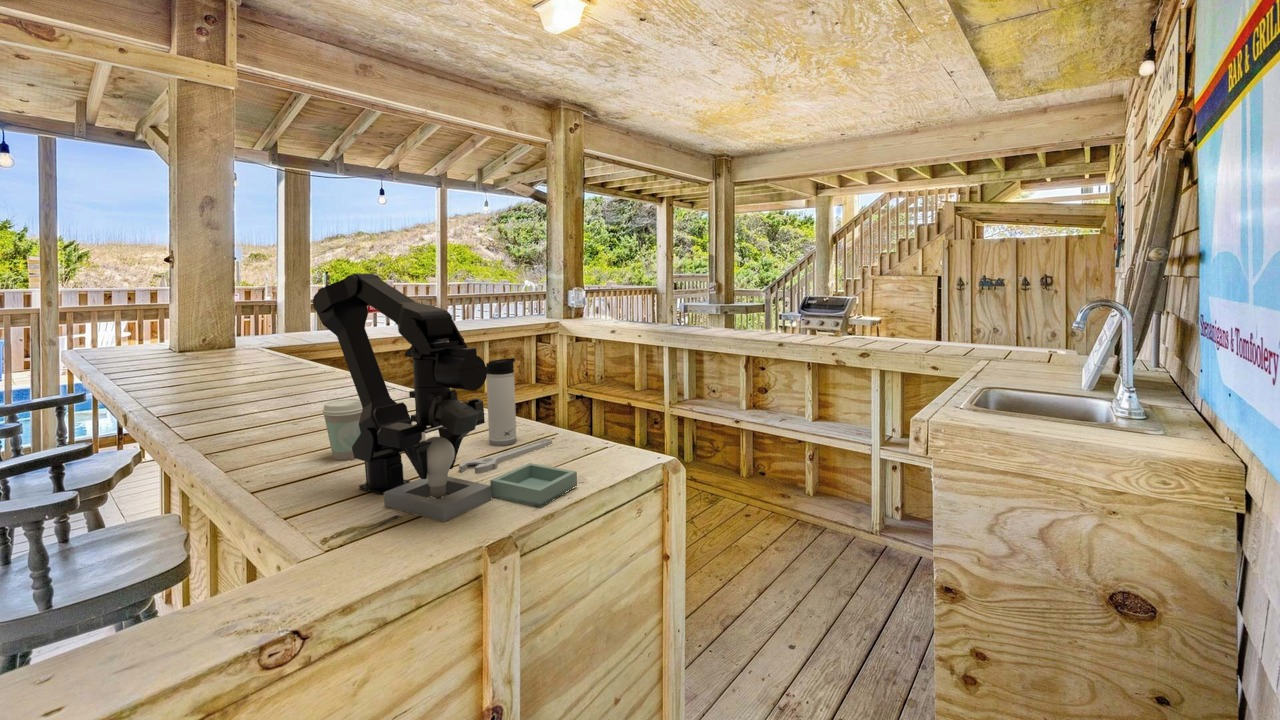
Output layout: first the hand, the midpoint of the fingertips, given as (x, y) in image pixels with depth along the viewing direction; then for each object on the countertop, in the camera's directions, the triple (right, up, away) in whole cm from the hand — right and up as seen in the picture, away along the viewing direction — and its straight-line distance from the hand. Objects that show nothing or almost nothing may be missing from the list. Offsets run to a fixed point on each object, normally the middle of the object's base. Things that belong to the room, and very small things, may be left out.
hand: (437, 473), depth 102 cm
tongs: (-8, -8, -10) cm, 15 cm away
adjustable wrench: (+7, -2, +26) cm, 27 cm away
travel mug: (+3, 0, +37) cm, 38 cm away
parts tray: (+16, -4, +6) cm, 17 cm away
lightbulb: (0, -5, +1) cm, 5 cm away
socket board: (0, -5, +1) cm, 5 cm away
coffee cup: (-29, -2, +27) cm, 40 cm away
